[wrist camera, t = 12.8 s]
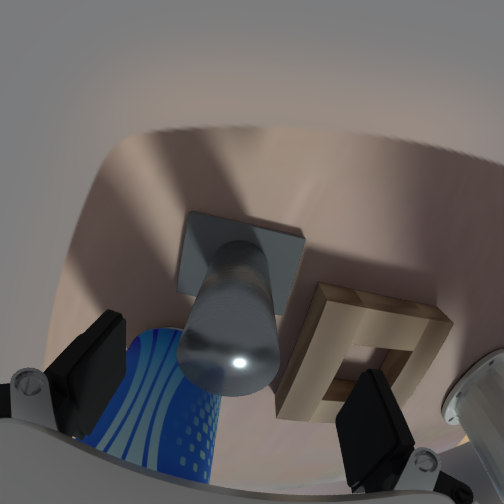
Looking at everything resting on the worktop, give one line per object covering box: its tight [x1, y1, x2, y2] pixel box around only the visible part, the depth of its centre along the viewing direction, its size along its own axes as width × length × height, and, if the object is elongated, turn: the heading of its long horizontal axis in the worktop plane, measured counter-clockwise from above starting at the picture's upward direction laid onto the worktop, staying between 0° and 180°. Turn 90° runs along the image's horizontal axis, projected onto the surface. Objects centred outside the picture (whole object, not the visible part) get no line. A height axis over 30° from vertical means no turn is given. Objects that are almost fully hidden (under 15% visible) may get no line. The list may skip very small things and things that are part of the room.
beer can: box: [76, 327, 221, 484], centre depth 16 cm, size 8×8×16 cm
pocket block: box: [275, 282, 454, 423], centre depth 21 cm, size 12×12×3 cm
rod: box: [177, 240, 280, 397], centre depth 15 cm, size 4×4×10 cm
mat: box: [177, 211, 306, 316], centre depth 20 cm, size 8×6×1 cm
